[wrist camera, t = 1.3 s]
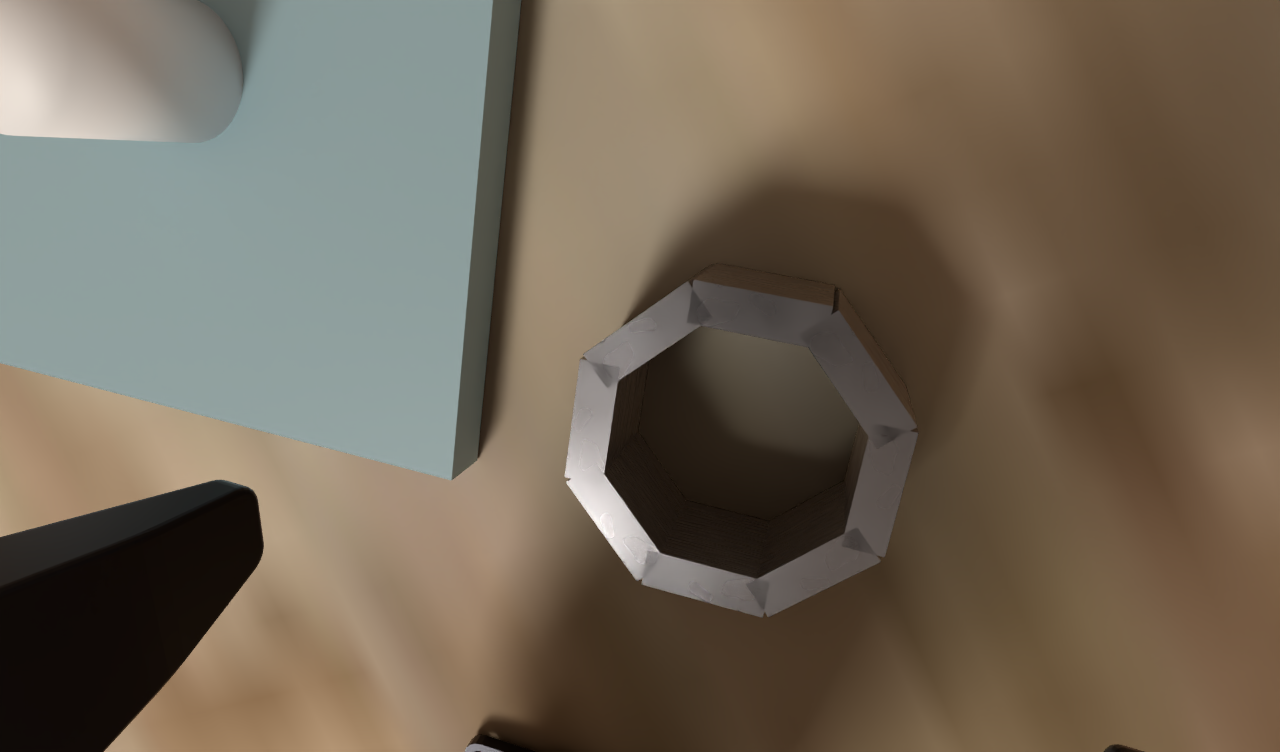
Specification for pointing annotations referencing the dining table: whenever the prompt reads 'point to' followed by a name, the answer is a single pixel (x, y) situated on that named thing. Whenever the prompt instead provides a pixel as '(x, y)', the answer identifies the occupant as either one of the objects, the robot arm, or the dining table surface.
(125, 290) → the piston plate
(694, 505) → the ring
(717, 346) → the dining table surface
